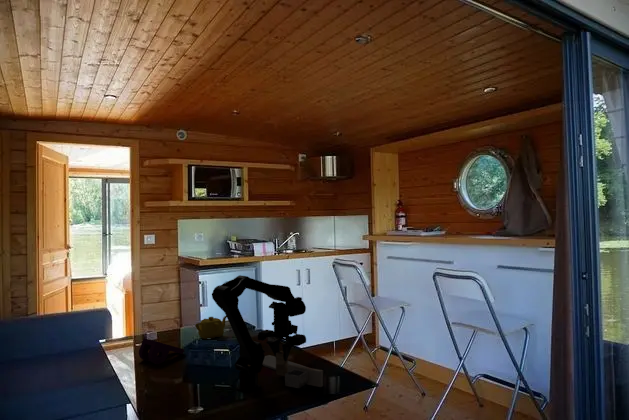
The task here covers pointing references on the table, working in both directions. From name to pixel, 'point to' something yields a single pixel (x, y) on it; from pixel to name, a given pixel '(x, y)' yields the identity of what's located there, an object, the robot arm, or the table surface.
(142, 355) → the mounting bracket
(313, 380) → the board
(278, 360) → the rail post
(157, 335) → the table surface
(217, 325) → the teapot
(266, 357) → the baseboard molding
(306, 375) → the square open holder
